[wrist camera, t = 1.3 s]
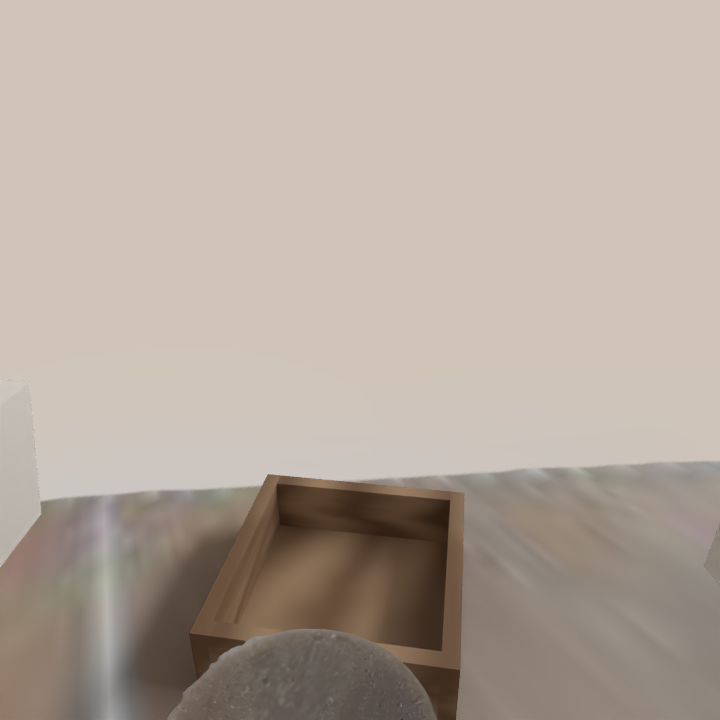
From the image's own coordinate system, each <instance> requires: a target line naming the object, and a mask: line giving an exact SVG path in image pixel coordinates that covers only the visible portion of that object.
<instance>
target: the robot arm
mask: <svg viewBox="0 0 720 720" xmlns="http://www.w3.org/2000/svg"><path fill="white" fill-rule="evenodd" d="M37 474H38V473H37V462H36V452H35V441H34V429H33V419H32V408H31V396H30V385H29V382H23V381H12V380H1V379H0V567H1V566H2V564H3V563H4V562H5V561H6V559H7V558H8V557H9V555H10V554H11V553H12V551H13V550H14V549H15V548H16V546H17V545H18V544H19V542H20V541H21V540H22V538H23V537H24V536H25V534H26V533H27V532H28V531H29V529H30V528H31V527H32V525H33V524H34V523H35V521H36V520H37V519H38V518H39V516H40V515H41V506H40V496H39V484H38V475H37ZM704 567H705V568H706V569H707V571H708V572H709V573H710V574H711V576H712V577H713V578H714V580H715V581H716V582H717V583H718V585H719V586H720V524H719V527H718V529H717V532H716V534H715V537H714V540H713V542H712V545H711V548H710V550H709V553H708V556H707V558H706V561H705V563H704Z"/></svg>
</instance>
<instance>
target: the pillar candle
mask: <svg viewBox="0 0 720 720" xmlns="http://www.w3.org/2000/svg"><path fill="white" fill-rule="evenodd" d="M167 720H437V717H436V714H435V712H434V709H433V706H432V703H431V701H430V698H429V696H428V694H427V692H426V691H425V689H424V687H423V686H422V684H421V683H420V682H419V680H418V679H417V678H416V677H415V675H414V674H413V673H412V672H411V670H410V669H409V668H408V667H407V666H406V665H404V664H403V663H402V662H401V661H400V660H399V659H398V658H397V657H396V656H395V655H393V654H392V653H390V652H389V651H387V650H385V649H384V648H382V647H381V646H379V645H377V644H375V643H373V642H371V641H369V640H366V639H364V638H362V637H360V636H357V635H354V634H351V633H345V632H340V631H334V630H327V629H297V630H294V629H293V630H289V631H285V632H279V633H275V634H272V635H267V636H256V637H253V638H250V639H249V640H248V641H246V642H245V643H244V644H243V645H242V646H236V647H234V648H231V649H230V650H229V651H227V652H225V653H223V654H222V655H221V656H220V657H219V659H218V661H217V662H215V663H212V664H210V666H209V669H208V670H207V671H206V672H205V673H204V674H203V675H202V676H201V677H200V678H199V679H198V680H197V681H196V682H194V683H193V684H192V685H191V686H190V687H188V688H187V689H186V690H185V691H184V692H183V693H182V700H181V701H180V702H179V704H178V705H177V706H176V707H175V708H174V709H173V710H172V711H171V712H170V714H169V716H168V717H167Z"/></svg>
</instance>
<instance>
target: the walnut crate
mask: <svg viewBox="0 0 720 720" xmlns="http://www.w3.org/2000/svg"><path fill="white" fill-rule="evenodd" d="M463 532H464V493H459V492H449V491H438V490H428V489H417V488H407V487H396V486H385V485H375V484H364V483H354V482H343V481H333V480H322V479H311V478H301V477H290V476H280V475H269V474H268V475H267V477H266V479H265V481H264V483H263V485H262V487H261V489H260V491H259V493H258V495H257V497H256V499H255V501H254V503H253V505H252V507H251V509H250V511H249V513H248V516H247V518H246V520H245V522H244V524H243V526H242V528H241V530H240V532H239V534H238V536H237V538H236V540H235V542H234V544H233V546H232V548H231V550H230V552H229V554H228V556H227V558H226V560H225V562H224V564H223V566H222V568H221V570H220V572H219V574H218V576H217V578H216V580H215V582H214V584H213V586H212V588H211V590H210V592H209V594H208V596H207V598H206V600H205V602H204V604H203V606H202V608H201V610H200V612H199V614H198V616H197V618H196V620H195V622H194V624H193V626H192V628H191V630H190V632H189V635H190V641H191V646H192V652H193V657H194V663H195V669H196V674H197V680H198V679H199V678H200V677H201V676H202V675H203V674H204V673H205V672H206V671H207V670H208V669H209V666H210V664H212V663H215V662H217V661H218V659H219V657H220V656H221V655H222V654H223V653H225V652H227V651H229V650H230V649H231V648H234V647H236V646H242V645H243V644H244V643H245V642H246V641H248V640H249V639H250V638H253V637H256V636H267V635H272V634H275V633H279V632H285V631H289V630H293V629H294V630H297V629H327V630H334V631H340V632H345V633H351V634H354V635H357V636H360V637H362V638H364V639H366V640H369V641H371V642H373V643H375V644H377V645H379V646H381V647H382V648H384V649H385V650H387V651H389V652H390V653H392V654H393V655H395V656H396V657H397V658H398V659H399V660H400V661H401V662H402V663H403V664H404V665H406V666H407V667H408V668H409V669H410V670H411V672H412V673H413V674H414V675H415V677H416V678H417V679H418V680H419V682H420V683H421V684H422V686H423V687H424V689H425V691H426V692H427V694H428V696H429V698H430V701H431V703H432V706H433V709H434V712H435V714H436V717H437V720H456V711H457V699H458V688H459V677H460V655H461V614H462V573H463Z"/></svg>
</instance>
